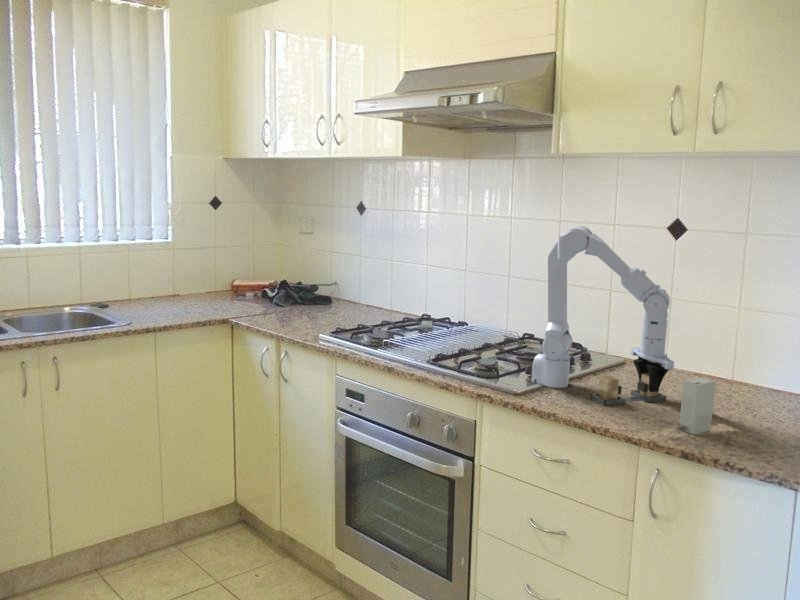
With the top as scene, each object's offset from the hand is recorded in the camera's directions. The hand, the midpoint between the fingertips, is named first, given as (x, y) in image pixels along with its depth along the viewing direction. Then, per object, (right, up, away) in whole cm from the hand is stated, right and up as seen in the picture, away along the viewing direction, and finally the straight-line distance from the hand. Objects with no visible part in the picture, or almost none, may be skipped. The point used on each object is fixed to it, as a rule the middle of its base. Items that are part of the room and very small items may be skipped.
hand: (648, 389), depth 181 cm
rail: (-6, -4, -1) cm, 7 cm away
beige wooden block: (0, -2, 0) cm, 2 cm away
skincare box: (+4, -8, -18) cm, 20 cm away
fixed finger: (-12, -3, -3) cm, 12 cm away
